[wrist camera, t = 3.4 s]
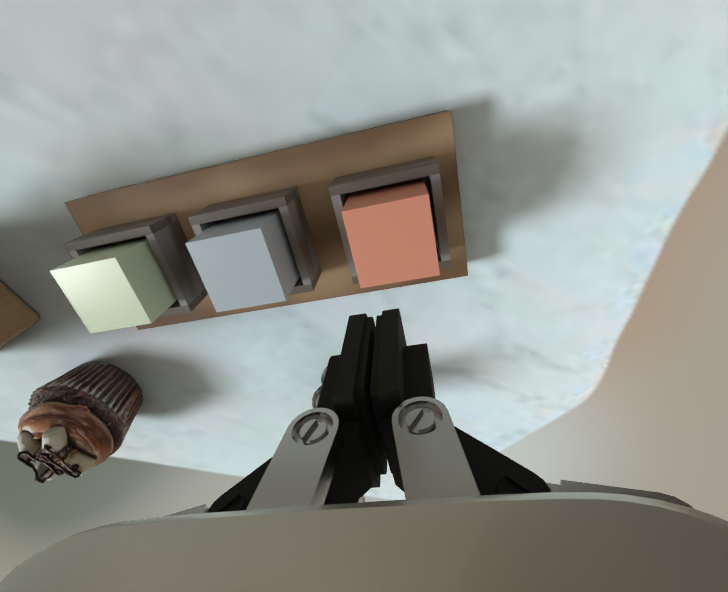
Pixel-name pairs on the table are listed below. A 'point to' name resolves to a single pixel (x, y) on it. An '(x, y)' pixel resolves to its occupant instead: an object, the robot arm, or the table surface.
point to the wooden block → (13, 315)
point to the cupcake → (77, 420)
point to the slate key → (245, 262)
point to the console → (284, 209)
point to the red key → (391, 234)
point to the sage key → (116, 286)
